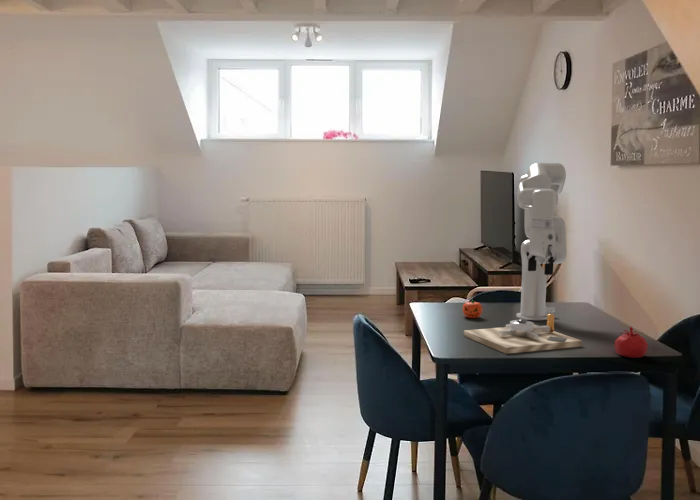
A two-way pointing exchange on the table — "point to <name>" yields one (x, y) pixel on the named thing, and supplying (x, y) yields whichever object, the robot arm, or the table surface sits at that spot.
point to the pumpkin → (472, 309)
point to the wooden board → (521, 340)
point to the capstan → (527, 328)
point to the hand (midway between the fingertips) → (540, 272)
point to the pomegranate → (631, 345)
